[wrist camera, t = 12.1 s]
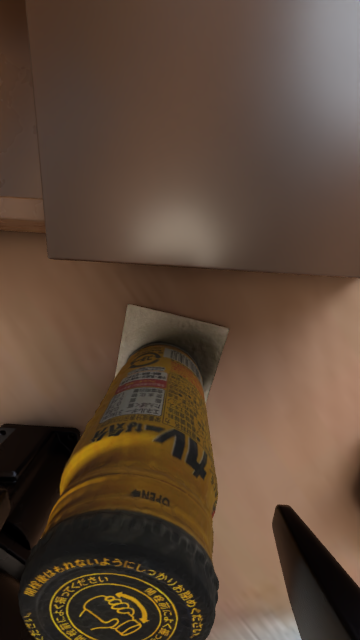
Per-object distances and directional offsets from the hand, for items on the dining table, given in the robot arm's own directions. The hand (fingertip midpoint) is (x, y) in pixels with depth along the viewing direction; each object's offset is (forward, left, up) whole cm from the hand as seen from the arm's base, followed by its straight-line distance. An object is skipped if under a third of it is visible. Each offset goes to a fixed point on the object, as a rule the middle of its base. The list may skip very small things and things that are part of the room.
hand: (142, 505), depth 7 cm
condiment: (0, 0, -10) cm, 10 cm away
